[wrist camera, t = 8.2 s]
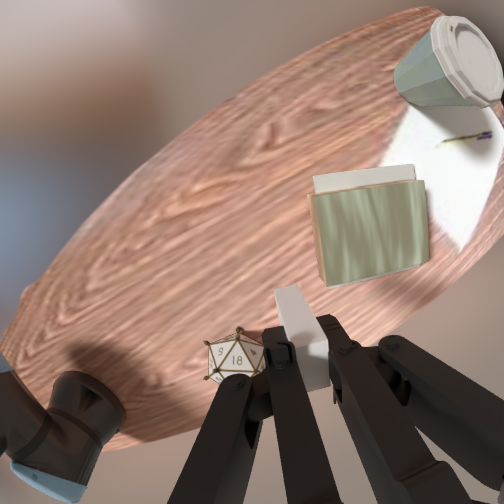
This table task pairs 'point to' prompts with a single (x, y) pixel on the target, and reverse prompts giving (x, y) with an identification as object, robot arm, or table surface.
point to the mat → (360, 179)
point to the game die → (234, 357)
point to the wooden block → (369, 229)
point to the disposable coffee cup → (451, 67)
